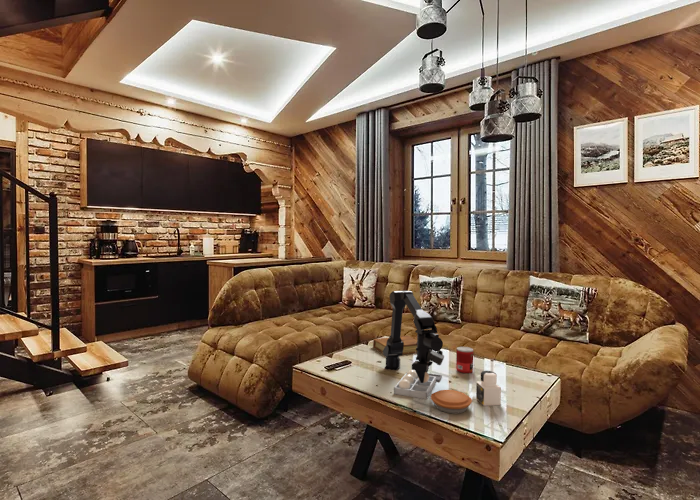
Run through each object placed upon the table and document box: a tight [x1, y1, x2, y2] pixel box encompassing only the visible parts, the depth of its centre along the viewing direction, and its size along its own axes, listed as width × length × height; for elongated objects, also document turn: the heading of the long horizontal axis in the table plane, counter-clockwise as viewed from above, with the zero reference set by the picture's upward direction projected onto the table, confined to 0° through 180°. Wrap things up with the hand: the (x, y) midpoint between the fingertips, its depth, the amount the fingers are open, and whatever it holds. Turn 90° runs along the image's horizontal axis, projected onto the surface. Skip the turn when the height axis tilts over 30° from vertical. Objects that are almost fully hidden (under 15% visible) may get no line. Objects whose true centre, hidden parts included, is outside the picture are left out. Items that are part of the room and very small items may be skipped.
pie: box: [430, 389, 473, 414], centre depth 151 cm, size 16×16×5 cm
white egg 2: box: [402, 374, 414, 384], centre depth 172 cm, size 5×5×5 cm
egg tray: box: [393, 372, 437, 400], centre depth 171 cm, size 14×20×3 cm
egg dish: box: [427, 372, 443, 382], centre depth 183 cm, size 6×6×1 cm
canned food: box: [455, 346, 474, 374], centre depth 194 cm, size 8×8×11 cm
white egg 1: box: [406, 369, 417, 379], centre depth 178 cm, size 5×5×5 cm
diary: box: [372, 335, 417, 355], centre depth 231 cm, size 23×19×6 cm
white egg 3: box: [398, 379, 410, 389], centre depth 166 cm, size 5×5×5 cm
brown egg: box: [418, 372, 430, 383], centre depth 169 cm, size 5×5×5 cm
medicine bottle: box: [475, 370, 502, 407], centre depth 156 cm, size 7×7×12 cm
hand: (423, 380), depth 170 cm, fingers closed on brown egg, 5 cm apart
